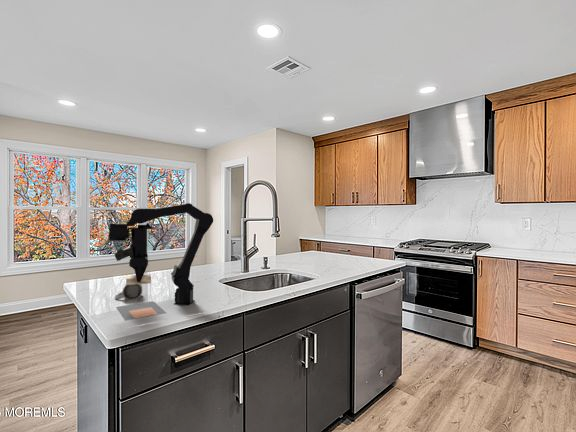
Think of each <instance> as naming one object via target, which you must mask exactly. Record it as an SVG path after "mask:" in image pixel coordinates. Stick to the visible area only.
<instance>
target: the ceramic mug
mask: <svg viewBox="0 0 576 432" xmlns="http://www.w3.org/2000/svg"><path fill="white" fill-rule="evenodd" d="M142 285H143V284H134V285H126V284H125V285H124V287H123V288H122V291H121V292H119V293H117V294H116V295H115V297H114V298H115V299H116V300H121V299H125V300H127V301H131V300H132V298H134V300H138V299H139V298H140V297H141V296H142V295H143V286H142Z"/></svg>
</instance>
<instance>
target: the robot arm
mask: <svg viewBox="0 0 576 432" xmlns="http://www.w3.org/2000/svg"><path fill="white" fill-rule="evenodd" d="M181 214H188V215H189V216H191V218H193V219H195V223H194V229H193V230H194V231H193V233H192V236H191V239H190V241H189V243H188V245H187V248H186V250H185V252H184V255H183V257H182V259H181V262H180V263H179V265H176V264H175V265H174V266H173V270H172V272H171V273H170V275H171V281H172V284H174V285H175V286H176V287H177V288H175V292H174V303H173V305H176V306H177V305H178V306H190V305H191V304H193V303H194V302H195V301H196V300H194V287H195V286H194V284H193V283H192V281H191V280H190V274H191V267H192V264H193V261H194V259H195V256H197V255H196V254H197V252H198V250H199V248H200V245H201V244H202V240H203V237H204V235H205V234H206V233H207V232H208V231H209V229H210V228H211V226H212V225H213V222H214V218H213V215H212V214H211V213H208V212H204V211H202V210H200V209H199V208H197V206H194V205H193V204H192V203H189V202H188V203H187V202H186V203H184V204H177V205H173V206H172V205H170V206H165V207H158V208H136V209H133V210H132V212H131V215H130V216H131V217H130V219H129V220H128V221H126V223H115V222H113V223H110V224H109V231H108V241H109V242H126V241H127V239H130V244H129V246H128V247H125V248H120V249H117V251H115V252H114V253H113V255H114V258H115V259H116V262H119V261H121V260H124V259H125V258H130V259H129V261H128V262H129V265H128V266H129V267H131V268H132V269H133V270H134V273H135V275H136V279H137V282H141V279H142V277H143V275H145V272H146V270H147V268H148V266H149V258H148V257H149V256H148V230H152V229H153V226H151V225H150V223H149V222H150V221H153V220H156V219H158V218H163V217H169V216H175V215H181ZM144 223H146V224H144ZM135 225H137V226H136V227H135ZM133 226H134V227H133Z"/></svg>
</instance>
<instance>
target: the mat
mask: <svg viewBox="0 0 576 432" xmlns="http://www.w3.org/2000/svg"><path fill="white" fill-rule="evenodd" d="M115 307H116V310H117V311H118V312H119V314H120V315H121V317H122V318H123V320H124V321H125V322H126V321H131V320H135V319H141V318H146V317H151V316H152V317H153V316H158V315H162V314H167V312H166V311H165V310H164V309H163V308H161V306H159V305H158V304H157V303H156V301H154V300H153V301H144V302H140V303H134V304H133V303H132V304H126V305H119V306H115Z"/></svg>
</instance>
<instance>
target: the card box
mask: <svg viewBox="0 0 576 432" xmlns="http://www.w3.org/2000/svg"><path fill="white" fill-rule="evenodd" d="M125 280H126V283H125V285H134V284H141V285H144V284H151V283H152V275H151V273H150V274H148V273H147V274H144V275H143V277H142V279H141V282H137V279H136V274H135V275H134V274H133V275H127V276H126V279H125Z"/></svg>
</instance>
